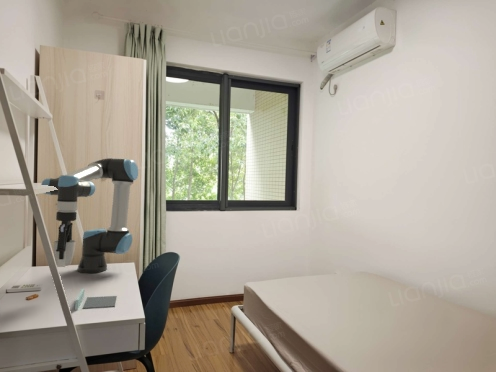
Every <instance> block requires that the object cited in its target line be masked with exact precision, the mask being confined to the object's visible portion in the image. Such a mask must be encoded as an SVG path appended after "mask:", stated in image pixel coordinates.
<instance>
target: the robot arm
mask: <svg viewBox="0 0 496 372" xmlns="http://www.w3.org/2000/svg"><path fill="white" fill-rule="evenodd" d="M138 177H139V169H138V165H137V163H136V161H135V160H133V159H127V158H110V157H109V158H102V159H99V160H96V161H93V162H89V163H88V165H86V166H85V167H83V168H79V169H78V170H74V171H72V172H69V173H67V174H64V175H63V174H62V175H60V176H58V177H56V178H51V177H50V178H45V179H43V180H42V182H41V183H40V186H41V185H48V186H54V187H56V188H57V189H58V190H54V191H50V192H46V193H44V194H45V195H50V196H57V202H56V203H55V206H56V210H57V212H56V215H55V216H56V217H55V220H56V221H59V222H61V223H60V225H59V226H58V237H57V241H58V245H57V250H56V251H58V264H56V266H57V268H65V267H66V266H65V259H66V251H65V250H66V242H70V240H73V221H76V220H77V214H78V213H77V212H76V211H77V210H78V198H81V197H82V198H83V197H84V198H86V197H91V196H93V195H94V194H95V192H96V185H95V184H94V183H93V182H92V180H100V179H111V183H112V184H113V195H112V205H111V216H110V217H111V218H110V225H109V227H108V228H107V229H106V228H96V229H88V230H85V231H84V232H83V235H82V248H81V252H82V253H81V258H80V261H79V263H78V266H77V272H79V273H83V274H96V273H97V274H98V273H102V272H106V271H107V269H108V264H107V259H106V257H105V253H106V254H116V255H119V254H121V255H124V254H126V253H128V252H129V250H130V248H131V246H132V243H133V235H132V234H131V233H130V229H129V228H128V227H127V225H128V214H129V202H130V193H131V186H132V185H133V184H134V181H135V180H137V179H138Z"/></svg>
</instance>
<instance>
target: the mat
mask: <svg viewBox="0 0 496 372" xmlns="http://www.w3.org/2000/svg"><path fill="white" fill-rule="evenodd" d="M117 296H118V295H109V296H90V297H89V296H88V297H86V299H85V301H84V303H83V306H82V309H83V310H84V309H85V310H86V309H99V308H100V309H102V308H103V309H104V308H115V307H116V301H117Z"/></svg>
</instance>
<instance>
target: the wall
mask: <svg viewBox="0 0 496 372" xmlns="http://www.w3.org/2000/svg"><path fill="white" fill-rule="evenodd" d="M84 299H85V288H81V289H80V292H79V293H78V295H77V298H76V299H75V307H74V309H75V311H79V309H80V306H81V304H82V302H83V300H84Z"/></svg>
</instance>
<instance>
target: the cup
mask: <svg viewBox="0 0 496 372" xmlns="http://www.w3.org/2000/svg"><path fill="white" fill-rule="evenodd" d="M57 245H58V240H56V241H54V242H53V253H54V260H55V263H56V265H57V264H58V251H56V250H57ZM75 249H76V240H74V239H72V240H70V242H66V250H65V251H66V259H65V267H68V266H71V265H72V264H71V263H72V261H73V260H74V259H73V258H74V254H75V251H76V250H75Z"/></svg>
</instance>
